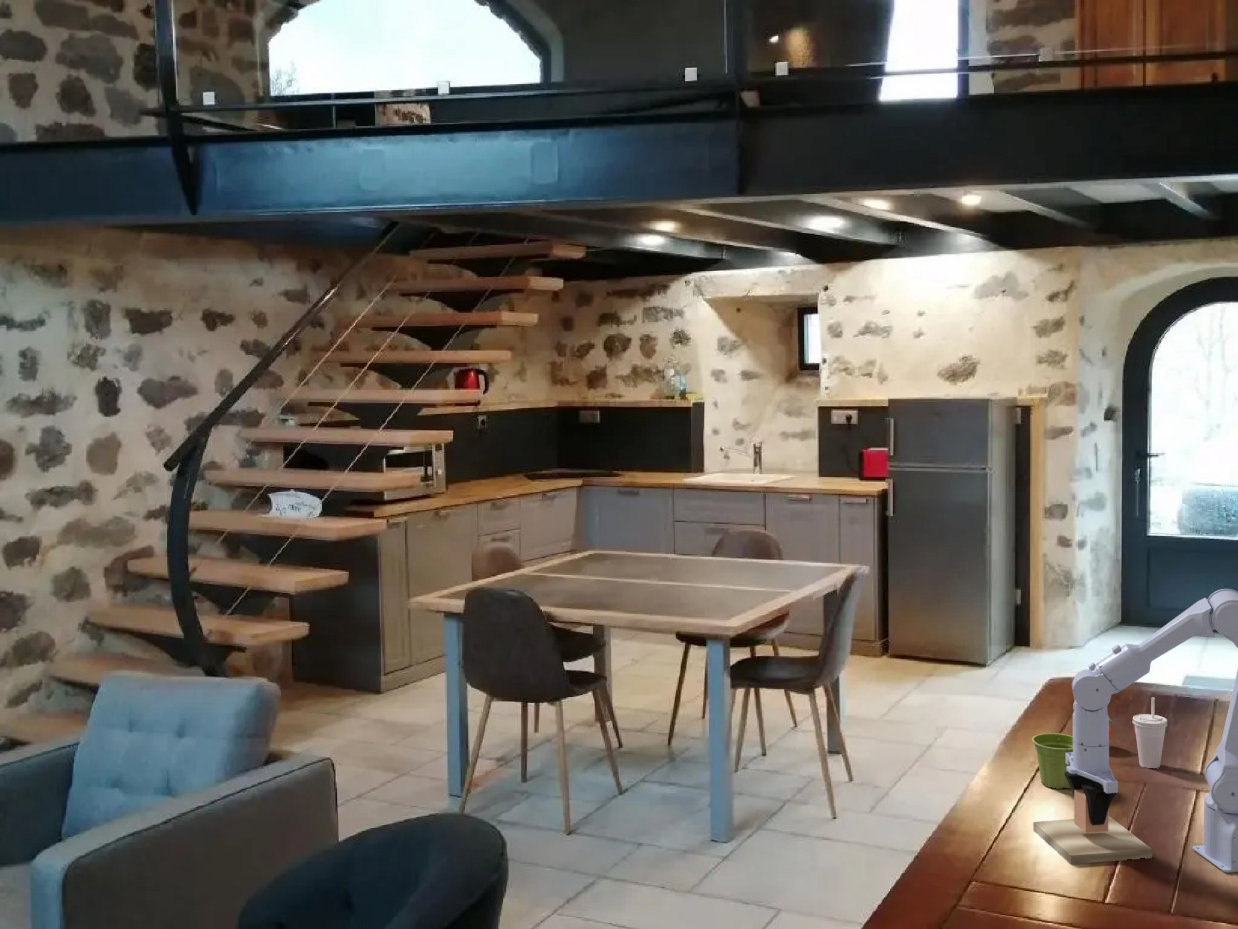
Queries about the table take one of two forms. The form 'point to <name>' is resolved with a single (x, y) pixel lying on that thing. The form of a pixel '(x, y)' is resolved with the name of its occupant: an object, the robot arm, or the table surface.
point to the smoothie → (1150, 737)
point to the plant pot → (1053, 758)
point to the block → (1085, 814)
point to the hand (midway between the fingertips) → (1090, 819)
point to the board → (1091, 842)
